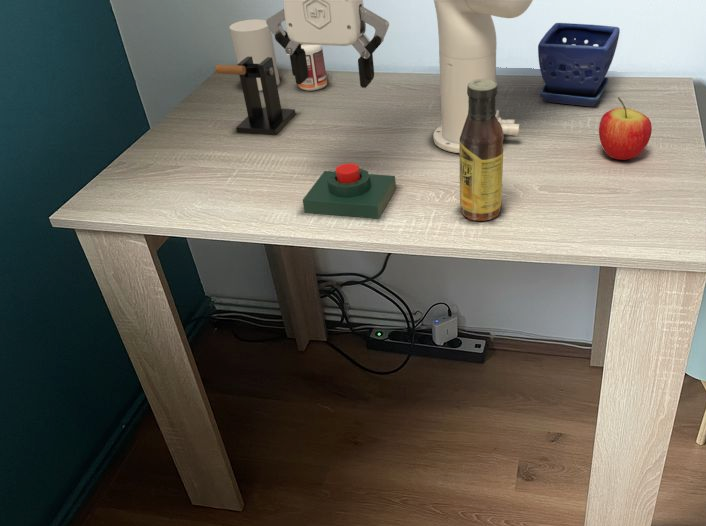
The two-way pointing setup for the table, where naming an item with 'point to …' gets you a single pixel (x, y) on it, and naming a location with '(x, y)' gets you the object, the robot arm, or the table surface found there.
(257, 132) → the bracket
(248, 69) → the lever
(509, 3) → the robot arm
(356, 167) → the button
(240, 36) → the cup
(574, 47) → the flower pot
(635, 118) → the apple
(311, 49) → the pill bottle
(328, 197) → the control block
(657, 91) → the table surface
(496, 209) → the sauce bottle
